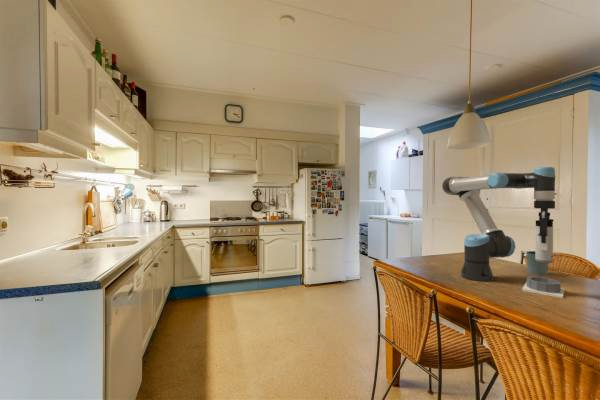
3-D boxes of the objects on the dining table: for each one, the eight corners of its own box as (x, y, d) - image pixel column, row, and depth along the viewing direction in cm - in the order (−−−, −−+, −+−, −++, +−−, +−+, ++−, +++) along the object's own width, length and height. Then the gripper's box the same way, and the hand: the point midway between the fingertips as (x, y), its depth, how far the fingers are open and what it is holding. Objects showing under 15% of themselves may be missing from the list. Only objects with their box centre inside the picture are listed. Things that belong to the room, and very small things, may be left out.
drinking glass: (546, 272, 164) (547, 252, 164) (550, 276, 155) (550, 255, 155) (524, 270, 169) (525, 250, 169) (527, 274, 161) (527, 253, 160)
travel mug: (557, 263, 128) (557, 219, 128) (540, 262, 129) (540, 219, 129) (547, 260, 134) (548, 218, 134) (532, 259, 136) (532, 218, 136)
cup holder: (522, 290, 132) (522, 280, 132) (526, 284, 142) (526, 274, 142) (563, 298, 122) (563, 286, 122) (564, 290, 132) (564, 280, 132)
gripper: (553, 200, 122) (553, 253, 122) (556, 200, 136) (556, 247, 136) (531, 200, 128) (531, 250, 128) (536, 200, 141) (535, 245, 141)
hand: (544, 249), depth 132 cm, fingers closed on travel mug, 6 cm apart
